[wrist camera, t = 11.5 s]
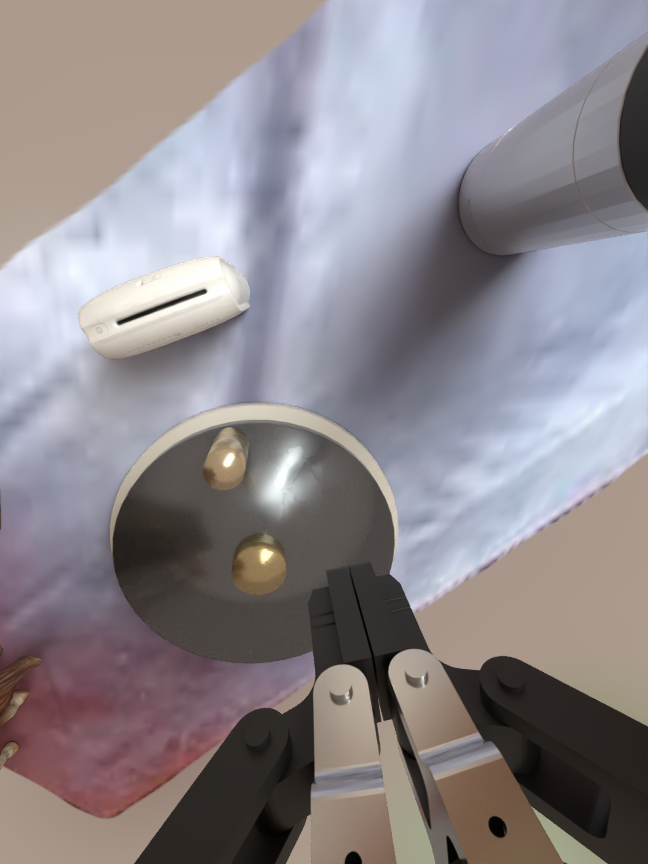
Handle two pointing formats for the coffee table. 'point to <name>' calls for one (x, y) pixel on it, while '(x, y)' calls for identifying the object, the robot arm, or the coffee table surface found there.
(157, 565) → the handwheel
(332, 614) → the robot arm
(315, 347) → the coffee table surface
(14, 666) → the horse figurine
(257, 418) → the base plate
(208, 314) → the photo printer
